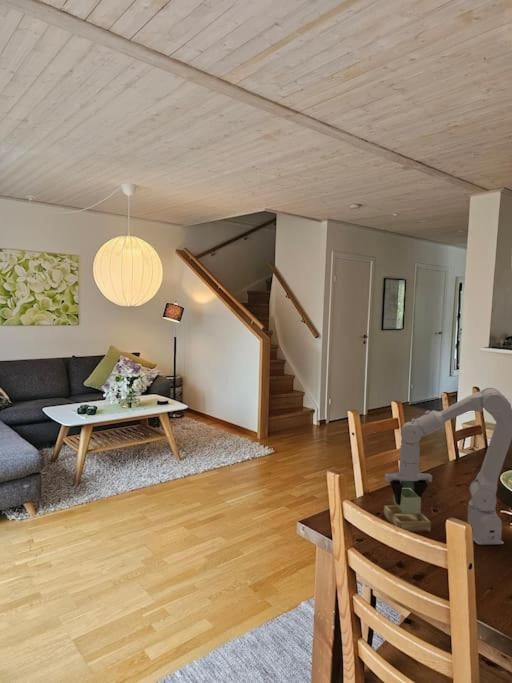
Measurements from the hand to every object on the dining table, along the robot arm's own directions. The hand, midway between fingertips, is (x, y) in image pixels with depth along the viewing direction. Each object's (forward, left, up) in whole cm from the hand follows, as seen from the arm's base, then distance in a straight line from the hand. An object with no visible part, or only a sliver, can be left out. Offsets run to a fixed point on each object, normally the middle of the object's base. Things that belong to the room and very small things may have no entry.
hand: (407, 503), depth 142 cm
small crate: (0, 0, -2) cm, 2 cm away
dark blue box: (+17, -9, -6) cm, 20 cm away
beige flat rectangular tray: (0, 0, -6) cm, 6 cm away
